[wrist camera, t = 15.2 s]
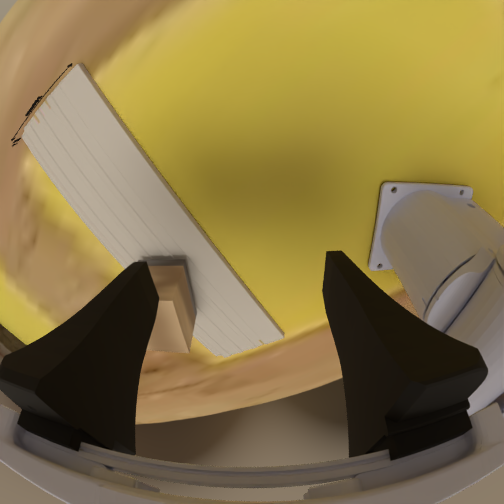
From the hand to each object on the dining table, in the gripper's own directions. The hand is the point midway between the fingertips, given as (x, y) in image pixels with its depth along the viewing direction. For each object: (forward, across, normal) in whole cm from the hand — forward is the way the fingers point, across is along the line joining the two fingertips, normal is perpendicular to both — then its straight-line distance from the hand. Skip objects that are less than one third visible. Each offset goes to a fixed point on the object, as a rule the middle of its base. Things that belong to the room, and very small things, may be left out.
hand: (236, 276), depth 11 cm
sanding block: (+9, +7, +8) cm, 14 cm away
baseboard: (+11, +8, +5) cm, 15 cm away
